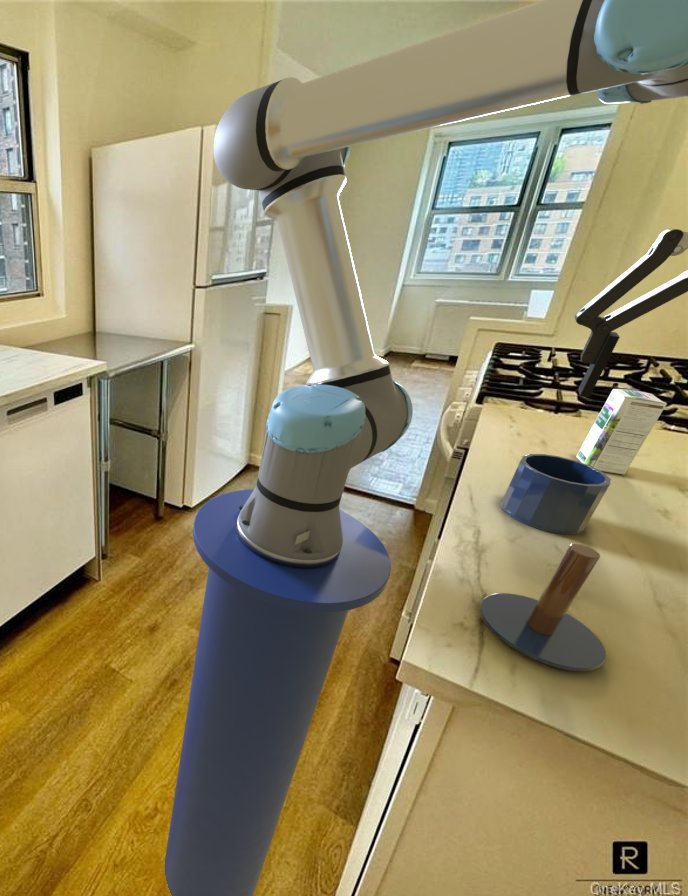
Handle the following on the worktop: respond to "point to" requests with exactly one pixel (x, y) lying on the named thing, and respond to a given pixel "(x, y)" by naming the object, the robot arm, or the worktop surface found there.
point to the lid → (549, 617)
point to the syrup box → (620, 430)
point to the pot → (554, 493)
